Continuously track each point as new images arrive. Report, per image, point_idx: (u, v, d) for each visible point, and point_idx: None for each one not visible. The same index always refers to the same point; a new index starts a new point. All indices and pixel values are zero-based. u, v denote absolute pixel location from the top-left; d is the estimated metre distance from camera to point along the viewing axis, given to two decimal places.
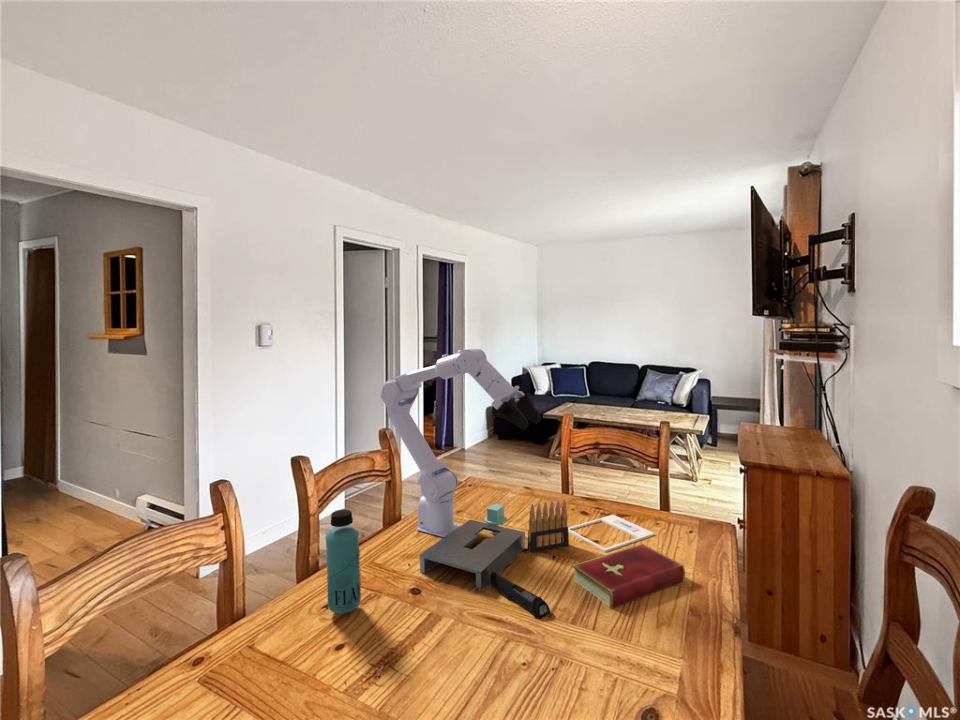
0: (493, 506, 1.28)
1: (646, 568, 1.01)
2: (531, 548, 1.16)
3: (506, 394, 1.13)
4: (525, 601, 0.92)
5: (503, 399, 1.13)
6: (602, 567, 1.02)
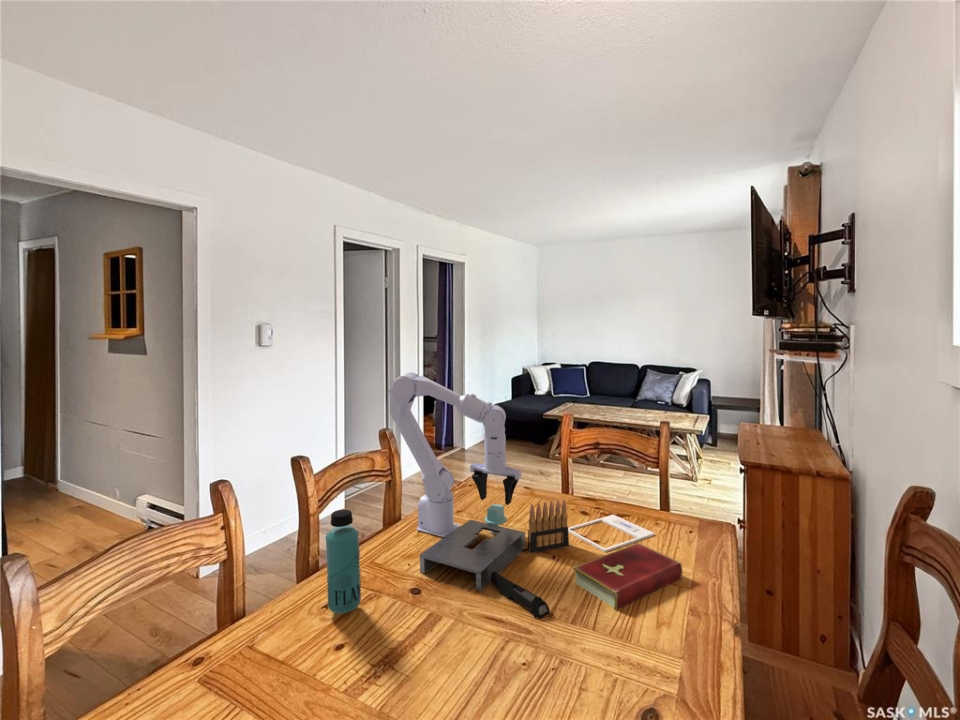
0: (493, 506, 1.28)
1: (645, 567, 1.01)
2: (531, 548, 1.16)
3: None
4: (525, 601, 0.92)
5: None
6: (603, 568, 1.01)
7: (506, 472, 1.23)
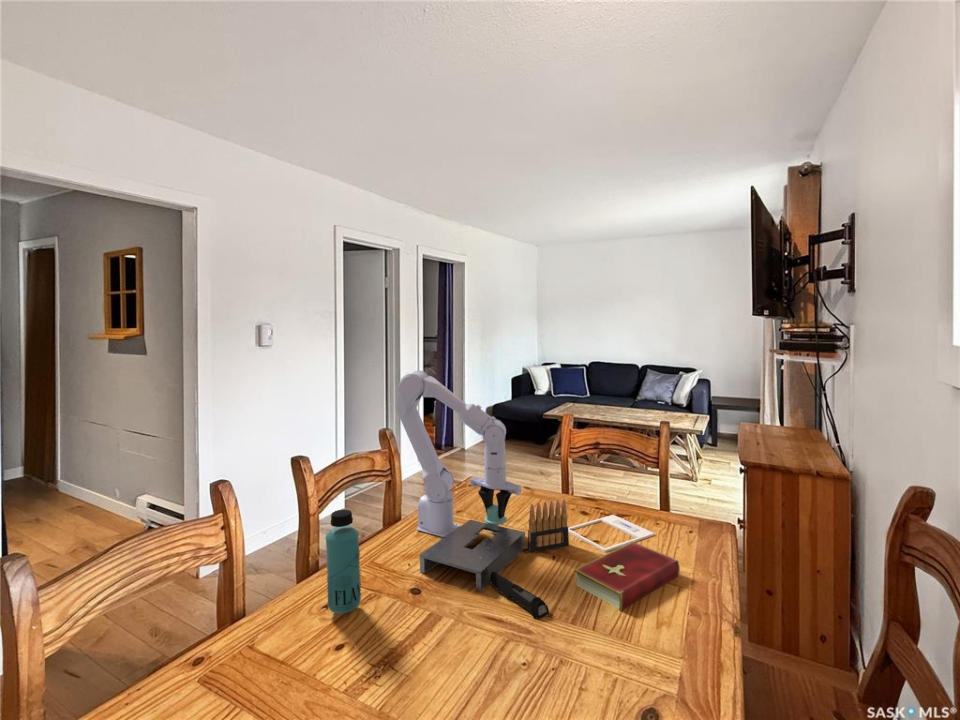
0: (493, 506, 1.28)
1: (645, 566, 1.02)
2: (531, 548, 1.16)
3: None
4: (524, 601, 0.92)
5: None
6: (603, 569, 1.01)
7: (506, 487, 1.23)
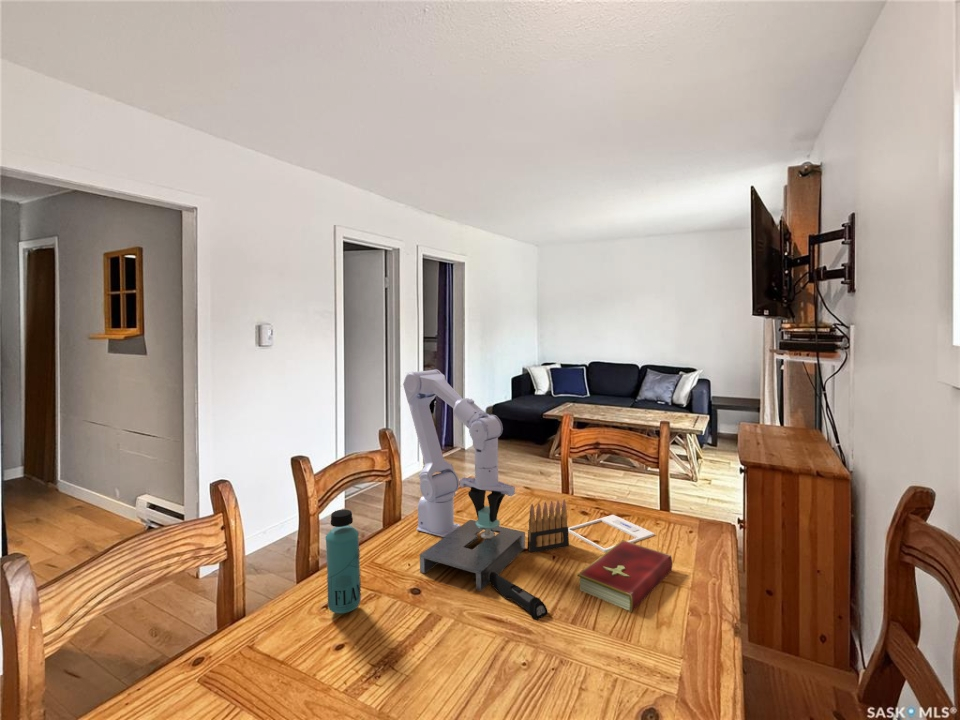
0: (485, 508, 1.18)
1: (643, 564, 1.02)
2: (531, 548, 1.16)
3: None
4: (523, 601, 0.92)
5: None
6: (605, 571, 1.00)
7: (498, 488, 1.13)
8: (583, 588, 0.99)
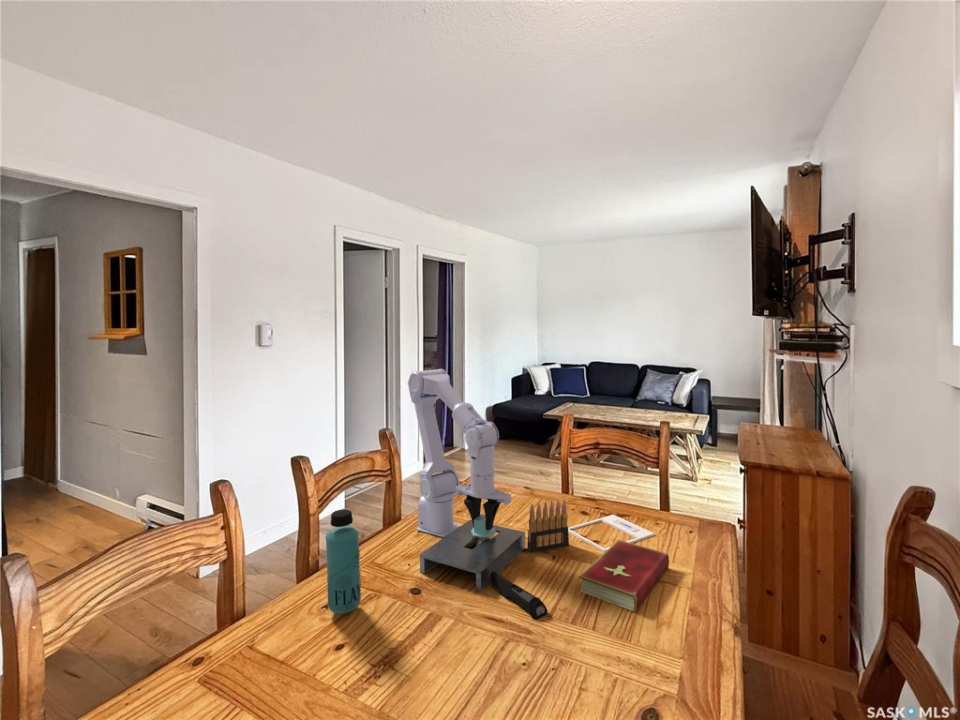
0: (481, 517, 1.16)
1: (642, 564, 1.03)
2: (531, 548, 1.16)
3: None
4: (522, 601, 0.92)
5: None
6: (606, 571, 1.00)
7: (494, 496, 1.11)
8: (585, 590, 0.98)
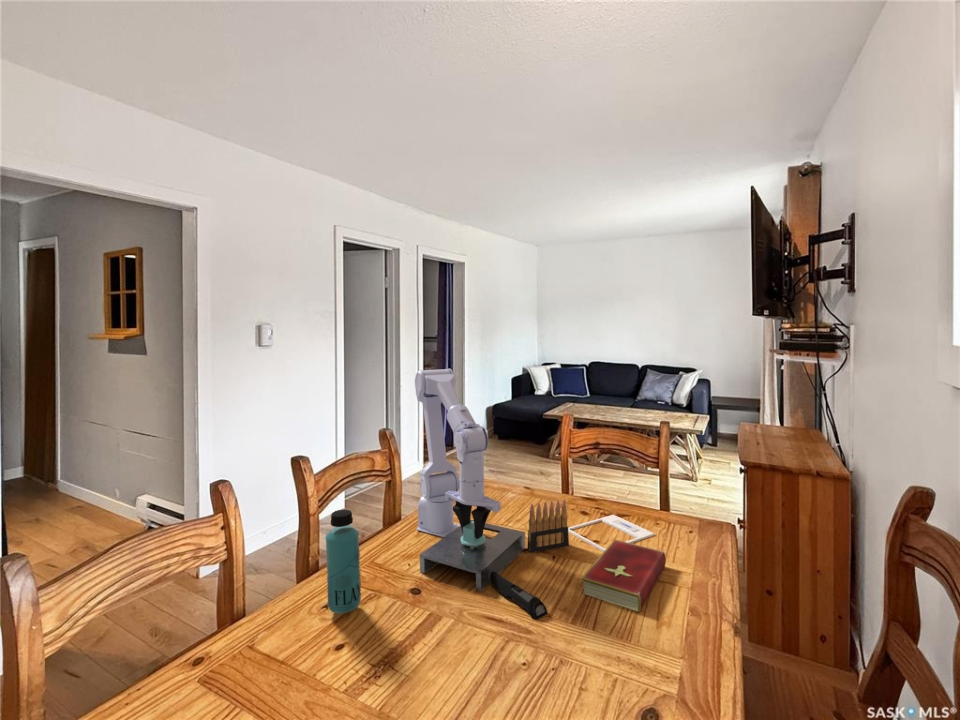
0: (470, 524, 1.12)
1: (641, 563, 1.03)
2: (531, 548, 1.16)
3: None
4: (522, 601, 0.92)
5: None
6: (608, 572, 0.99)
7: (483, 504, 1.07)
8: (587, 592, 0.97)
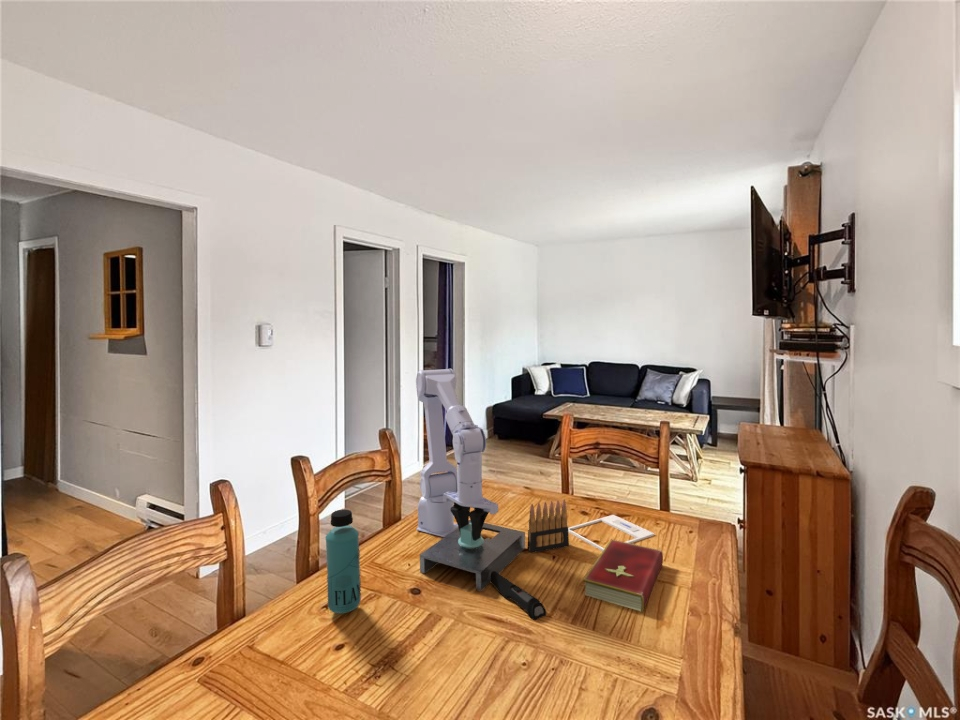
0: (468, 526, 1.11)
1: (640, 562, 1.03)
2: (531, 548, 1.16)
3: None
4: (521, 601, 0.92)
5: None
6: (608, 573, 0.99)
7: (480, 505, 1.06)
8: (589, 593, 0.97)
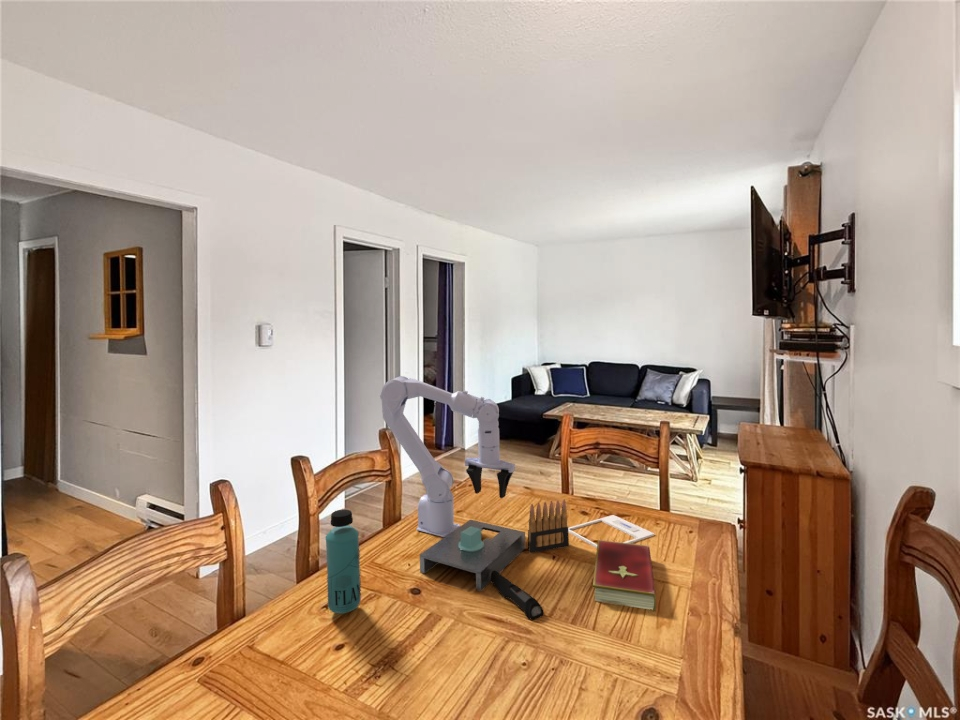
0: (468, 529, 1.11)
1: (636, 560, 1.04)
2: (531, 548, 1.16)
3: None
4: (519, 601, 0.92)
5: None
6: (613, 575, 0.98)
7: (500, 465, 1.24)
8: (599, 598, 0.95)
